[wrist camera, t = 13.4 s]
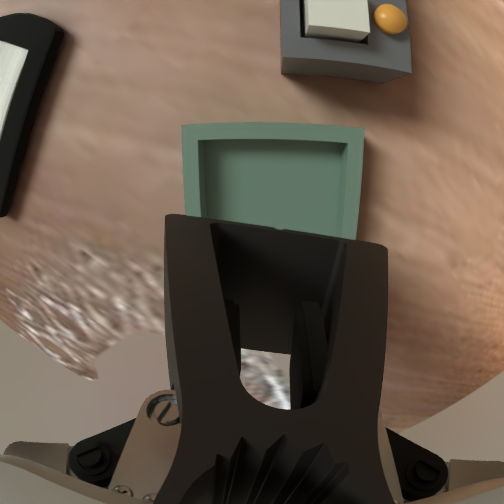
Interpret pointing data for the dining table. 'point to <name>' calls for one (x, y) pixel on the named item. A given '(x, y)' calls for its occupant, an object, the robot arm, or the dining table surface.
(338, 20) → the block
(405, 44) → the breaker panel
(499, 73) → the dining table surface
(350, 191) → the tray
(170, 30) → the dining table surface
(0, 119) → the light switch
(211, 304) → the phone stand
